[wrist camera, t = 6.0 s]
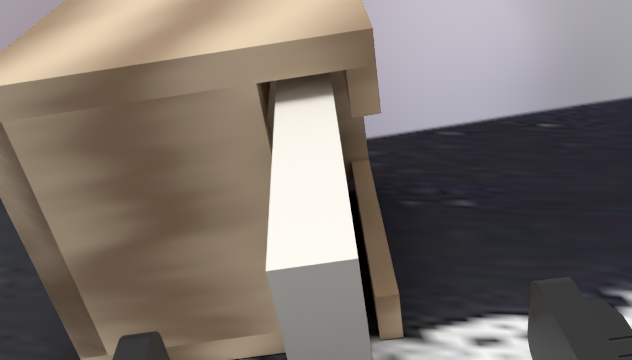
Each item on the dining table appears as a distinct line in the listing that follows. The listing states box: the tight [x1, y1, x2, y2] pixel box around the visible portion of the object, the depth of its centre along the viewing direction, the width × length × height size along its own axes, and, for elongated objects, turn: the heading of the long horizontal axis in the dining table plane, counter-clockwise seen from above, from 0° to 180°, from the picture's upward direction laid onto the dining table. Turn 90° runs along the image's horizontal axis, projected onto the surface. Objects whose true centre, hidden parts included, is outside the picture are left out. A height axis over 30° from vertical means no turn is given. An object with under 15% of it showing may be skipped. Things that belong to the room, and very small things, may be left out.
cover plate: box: [266, 72, 373, 360], centre depth 17 cm, size 2×11×9 cm, turn 2°
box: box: [0, 0, 403, 360], centre depth 23 cm, size 11×10×11 cm
